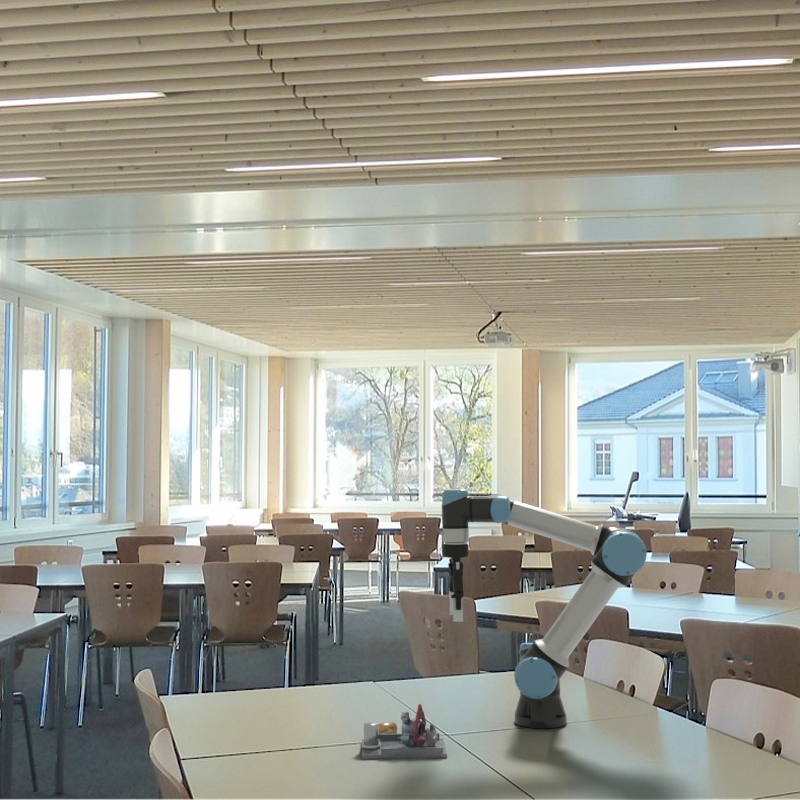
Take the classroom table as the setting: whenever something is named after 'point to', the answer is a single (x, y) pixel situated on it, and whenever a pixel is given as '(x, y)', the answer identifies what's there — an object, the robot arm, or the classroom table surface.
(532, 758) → the classroom table surface
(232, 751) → the classroom table surface
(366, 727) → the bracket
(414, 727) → the brake caliper
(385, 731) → the golden brown rounded block
